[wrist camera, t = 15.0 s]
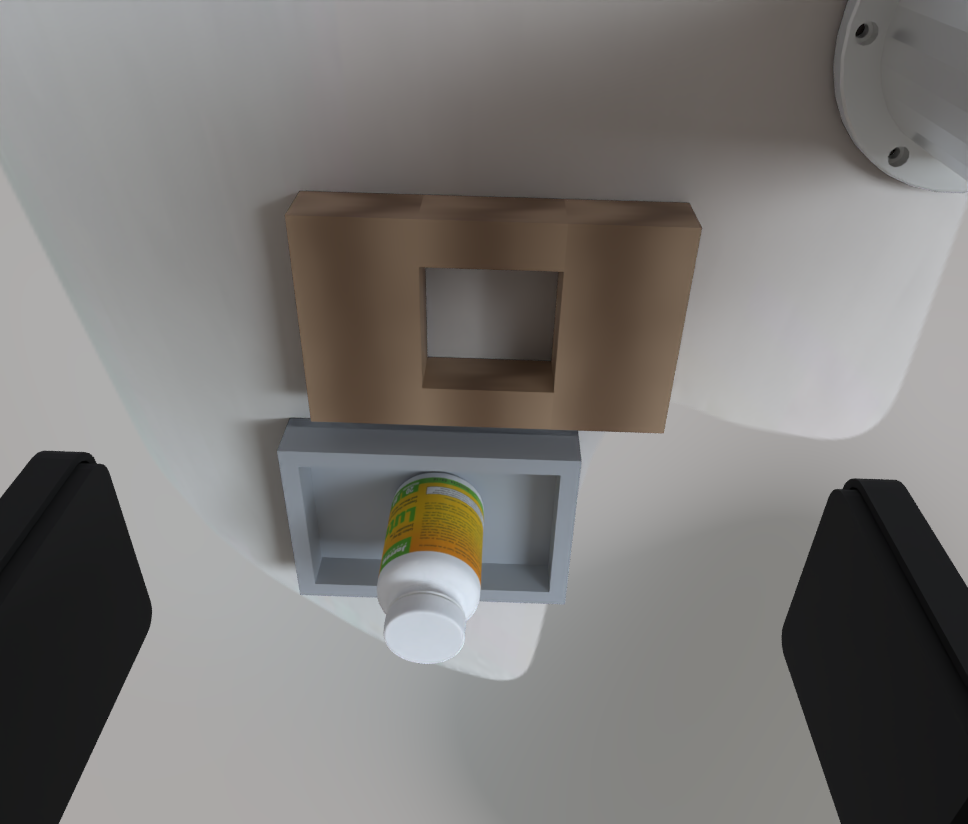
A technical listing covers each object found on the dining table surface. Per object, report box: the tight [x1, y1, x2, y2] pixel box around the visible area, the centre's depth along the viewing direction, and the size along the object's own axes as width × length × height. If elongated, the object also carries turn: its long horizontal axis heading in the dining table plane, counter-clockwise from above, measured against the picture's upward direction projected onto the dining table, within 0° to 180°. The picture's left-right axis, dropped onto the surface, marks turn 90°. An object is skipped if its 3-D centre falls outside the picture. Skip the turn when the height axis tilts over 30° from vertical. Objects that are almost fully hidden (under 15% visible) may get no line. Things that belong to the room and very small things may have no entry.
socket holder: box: [285, 191, 702, 433], centre depth 39 cm, size 18×11×3 cm, turn 89°
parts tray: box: [277, 418, 581, 604], centre depth 46 cm, size 16×11×3 cm
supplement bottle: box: [377, 473, 484, 664], centre depth 43 cm, size 5×5×10 cm
